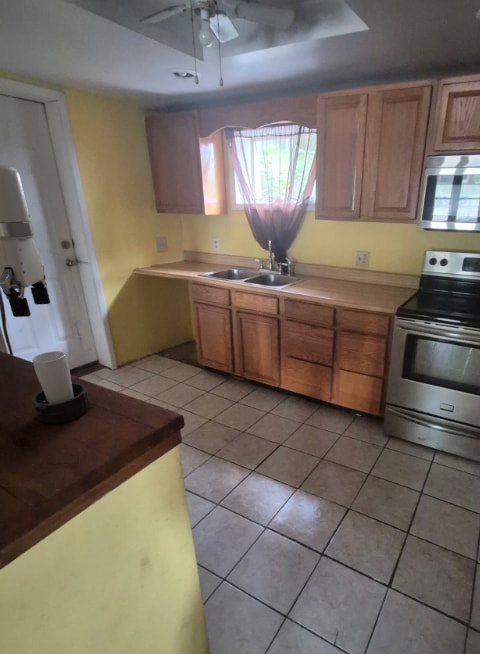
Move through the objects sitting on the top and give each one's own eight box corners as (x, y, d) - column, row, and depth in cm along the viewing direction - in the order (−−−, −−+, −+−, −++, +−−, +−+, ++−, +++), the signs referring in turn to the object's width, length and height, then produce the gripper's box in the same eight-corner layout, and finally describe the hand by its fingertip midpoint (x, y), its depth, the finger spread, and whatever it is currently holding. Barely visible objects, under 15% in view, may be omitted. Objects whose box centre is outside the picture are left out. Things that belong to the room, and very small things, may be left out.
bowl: (30, 427, 88) (23, 407, 86) (49, 402, 98) (44, 384, 96) (81, 422, 90) (76, 402, 88) (95, 399, 100) (91, 381, 98)
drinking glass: (51, 406, 95) (36, 353, 89) (81, 401, 98) (67, 349, 92) (45, 420, 90) (28, 364, 84) (77, 414, 92) (62, 360, 86)
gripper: (13, 227, 84) (32, 300, 91) (-36, 234, 69) (-8, 322, 75) (49, 227, 85) (66, 299, 92) (10, 235, 70) (33, 321, 77)
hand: (33, 309), depth 84 cm, fingers open, 9 cm apart
